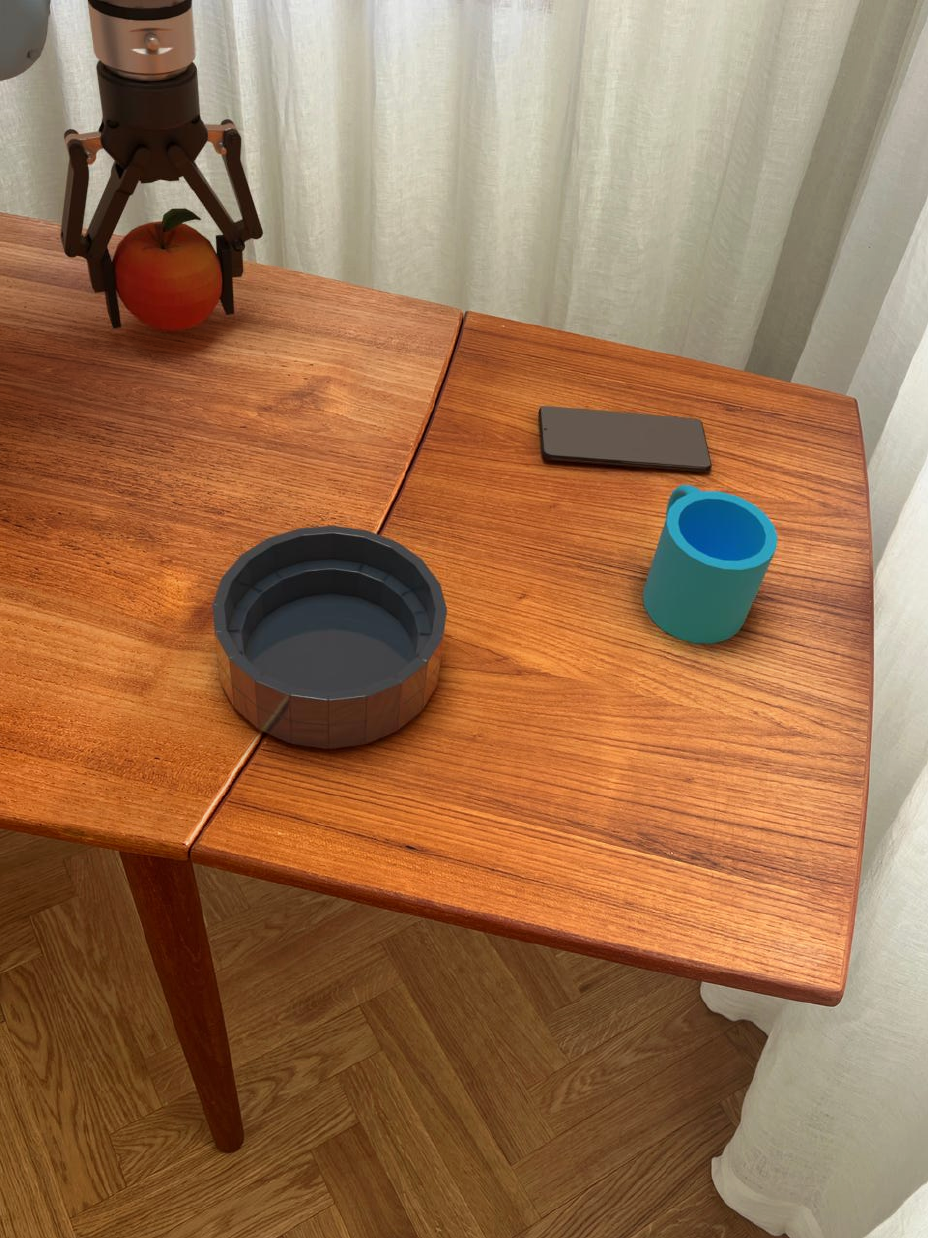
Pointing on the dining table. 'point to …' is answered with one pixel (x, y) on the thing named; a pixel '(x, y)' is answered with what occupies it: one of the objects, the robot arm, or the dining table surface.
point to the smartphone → (623, 439)
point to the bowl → (329, 636)
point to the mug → (708, 565)
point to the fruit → (168, 272)
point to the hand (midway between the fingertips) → (171, 312)
